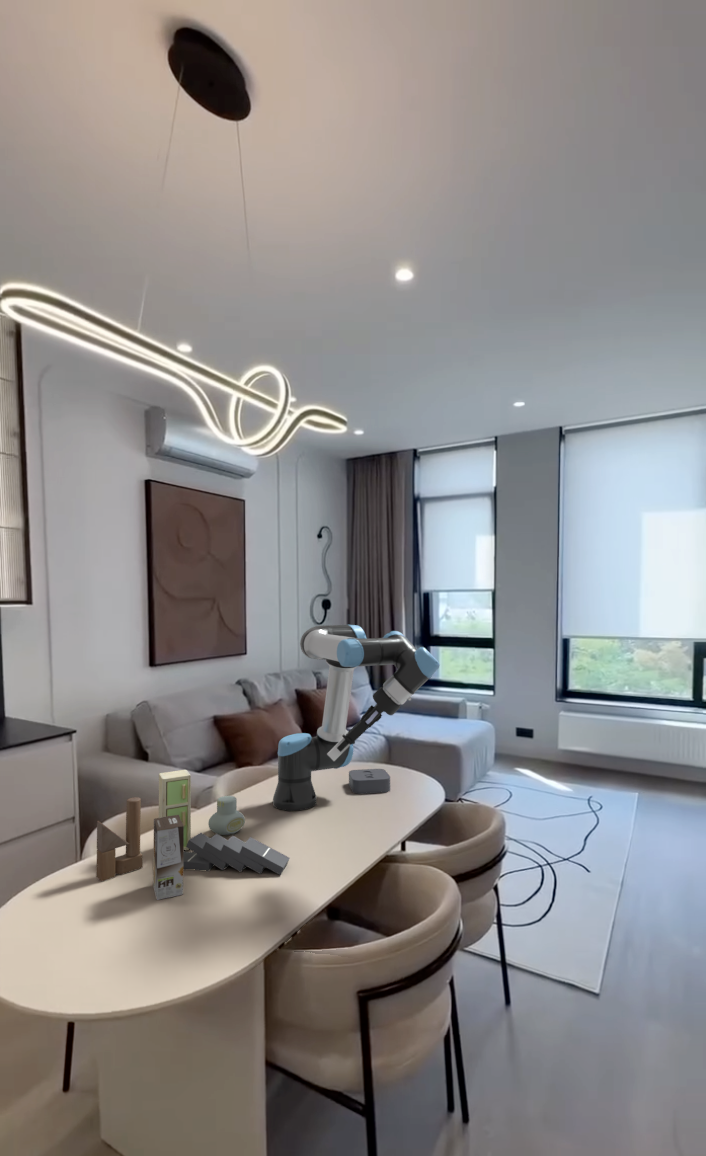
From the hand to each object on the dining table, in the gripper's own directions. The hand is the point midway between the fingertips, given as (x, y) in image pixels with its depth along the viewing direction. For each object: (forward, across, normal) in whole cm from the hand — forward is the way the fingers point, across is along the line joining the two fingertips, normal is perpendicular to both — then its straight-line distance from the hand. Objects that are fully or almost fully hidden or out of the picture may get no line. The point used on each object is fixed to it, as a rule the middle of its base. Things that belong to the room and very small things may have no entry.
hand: (331, 757), depth 154 cm
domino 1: (+38, -6, 0) cm, 38 cm away
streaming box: (+18, +66, -23) cm, 72 cm away
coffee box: (+46, -19, +6) cm, 50 cm away
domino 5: (+27, -6, -11) cm, 30 cm away
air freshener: (+45, +18, +5) cm, 49 cm away
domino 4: (+31, -6, -7) cm, 32 cm away
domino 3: (+34, -6, -4) cm, 35 cm away
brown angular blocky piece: (+58, -12, +18) cm, 62 cm away
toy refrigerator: (+52, +3, +13) cm, 54 cm away
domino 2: (+41, -6, +3) cm, 41 cm away
